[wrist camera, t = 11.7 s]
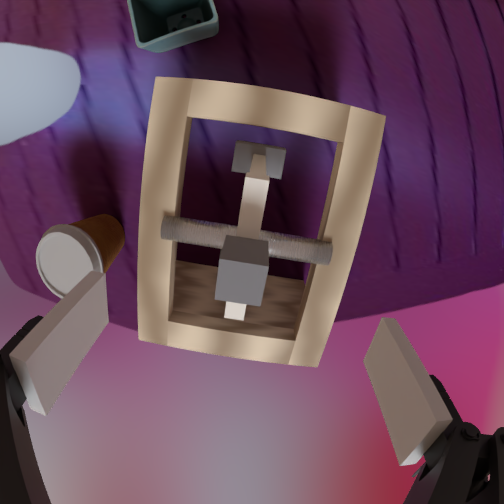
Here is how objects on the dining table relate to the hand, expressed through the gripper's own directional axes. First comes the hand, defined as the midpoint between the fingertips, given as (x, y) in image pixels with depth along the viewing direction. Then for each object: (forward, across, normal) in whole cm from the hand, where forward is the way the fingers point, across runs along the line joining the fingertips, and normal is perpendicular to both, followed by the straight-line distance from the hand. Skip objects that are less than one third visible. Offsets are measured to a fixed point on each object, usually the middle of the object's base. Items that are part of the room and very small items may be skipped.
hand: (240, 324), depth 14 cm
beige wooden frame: (+28, 0, 0) cm, 28 cm away
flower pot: (+28, -12, +22) cm, 38 cm away
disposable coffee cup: (+28, -20, -8) cm, 36 cm away
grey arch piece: (+22, 0, 0) cm, 22 cm away
